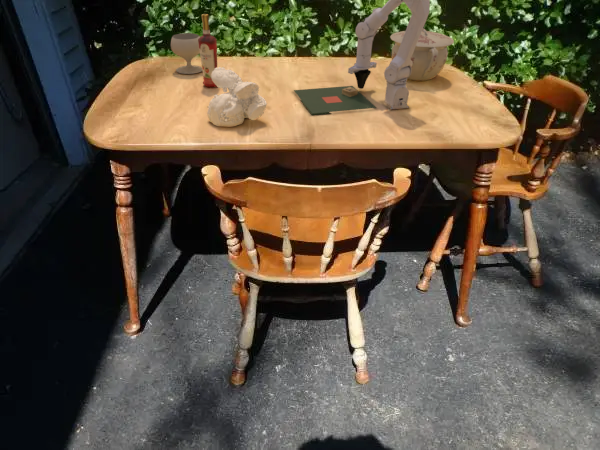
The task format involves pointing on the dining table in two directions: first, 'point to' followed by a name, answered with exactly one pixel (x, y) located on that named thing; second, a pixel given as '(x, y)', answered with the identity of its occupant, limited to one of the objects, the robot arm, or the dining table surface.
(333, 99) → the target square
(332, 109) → the game board
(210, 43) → the liquor
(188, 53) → the chalice
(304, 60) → the dining table surface
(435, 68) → the chamber pot
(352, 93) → the letter tile
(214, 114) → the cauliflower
